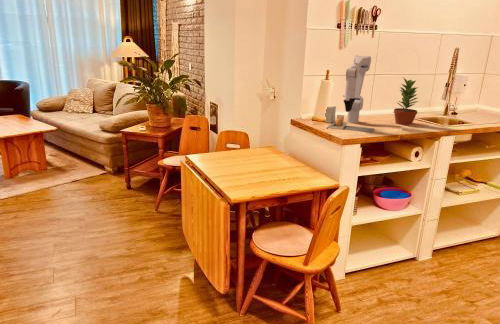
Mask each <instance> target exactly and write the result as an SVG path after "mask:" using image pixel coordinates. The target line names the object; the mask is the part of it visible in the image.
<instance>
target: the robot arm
mask: <svg viewBox="0 0 500 324" xmlns="http://www.w3.org/2000/svg"><path fill="white" fill-rule="evenodd" d="M371 64H372V57H371V55H355V56H354V59H353V63H352V64H351V66H350V67H348V68H347V69H346V70H345V81H346V83H345V84H346V85H345V92H344V95H342V97H344V98H345V99H343V104H344V108H345V112H347V119H346V123H349V124H358V123H360V121H359V119H360V118H359V117H360V111H361V110H362V109H363V105H364V97H362V95H361V93H362V89H363V85H364V80H365V75H366V72H368V71H370V68H371Z"/></svg>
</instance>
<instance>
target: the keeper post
mask: <svg viewBox="0 0 500 324" xmlns="http://www.w3.org/2000/svg"><path fill="white" fill-rule="evenodd" d="M335 123H336V126H337V127H340V119H337V118H335Z"/></svg>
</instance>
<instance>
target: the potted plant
mask: <svg viewBox="0 0 500 324" xmlns="http://www.w3.org/2000/svg"><path fill="white" fill-rule="evenodd" d="M402 79H403V80H404V83H405V84H402V83H401V85H402V87H401V86H399V88H400V89H399V92H401V93H400V94H401V96H402V98H401V100H402V101H400V100H398V102H397V101H396V103H397V105H398V106H400V107H397V108H394V109H393V113H394V121H395V124H397V125H401V126H402V125H403V126H412V125H413V122H414V120H415V119H416V116H417V114H418V110H417V109H413V108H411V107H412V106H414V105H415V104H416V103H419V102H420V101H415V100H417V99H418V97H416V96H417V95H418V94H419V93H417V94H415V93H416V92H417V90H418V88H419V87H418V86H417V87H416V86H414V84H415V83H416V81H417V79H415V80H414V81H413V80H412V79H409V80H407V79H406V78H405V77H402ZM413 86H414V87H413ZM403 87H404V88H403ZM400 103H401V104H400Z"/></svg>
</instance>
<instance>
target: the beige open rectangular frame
mask: <svg viewBox="0 0 500 324" xmlns="http://www.w3.org/2000/svg"><path fill="white" fill-rule="evenodd" d="M336 119H340V125H341V126H342V127H337V126H334V125H336V122H332V123H330V124H331V125H330V124H329V125H330V128H329V129H332V128H333V129H335V130H342V129H344V128H345V127H346V126H347V123H344V121H345V115H344V114H336Z"/></svg>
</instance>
